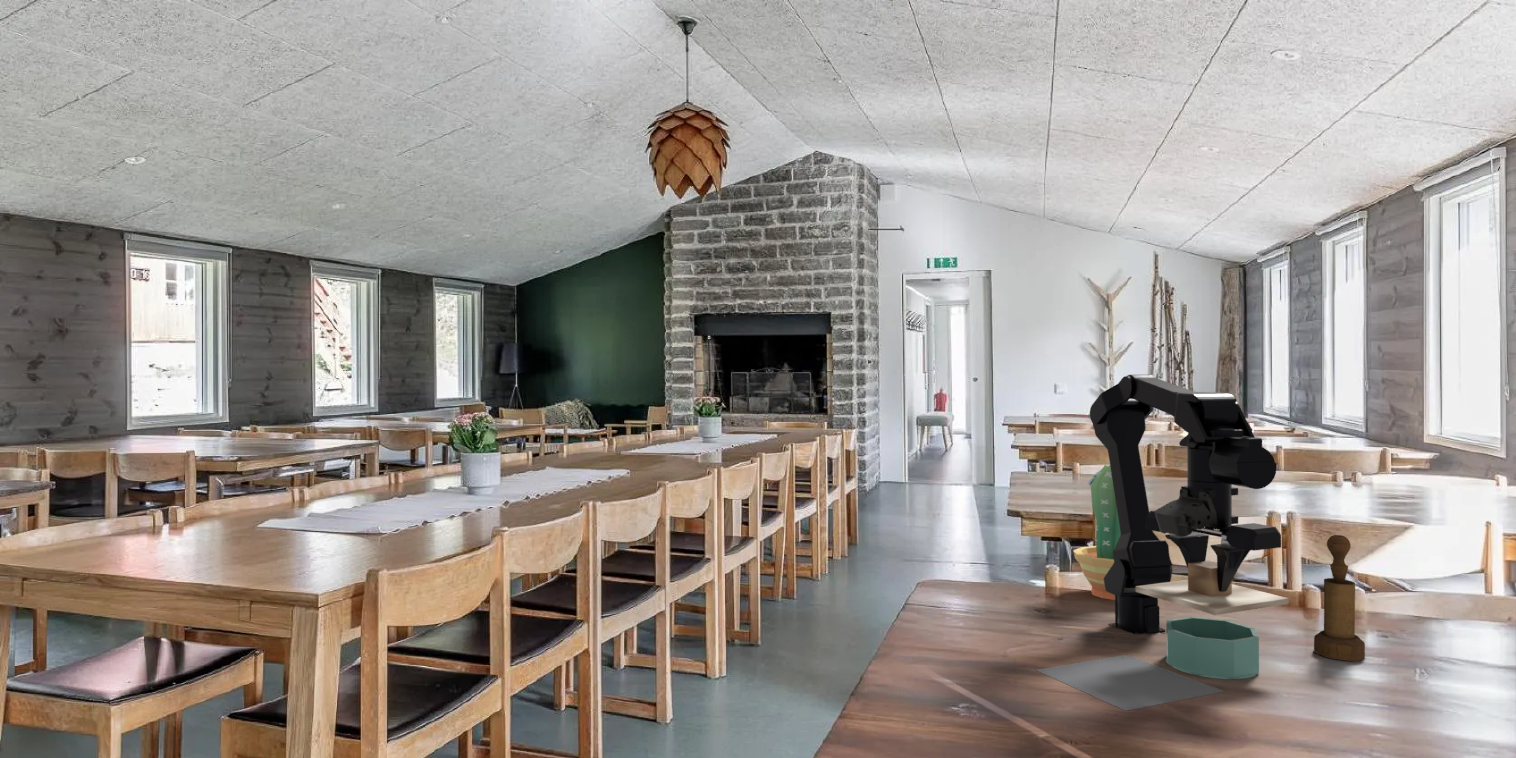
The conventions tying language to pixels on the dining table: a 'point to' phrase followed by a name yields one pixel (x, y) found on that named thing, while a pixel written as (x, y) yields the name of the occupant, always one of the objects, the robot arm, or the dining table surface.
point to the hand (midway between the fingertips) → (1209, 588)
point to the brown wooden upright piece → (1339, 609)
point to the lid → (1210, 592)
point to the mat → (1128, 682)
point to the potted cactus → (1101, 534)
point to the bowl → (1212, 648)
